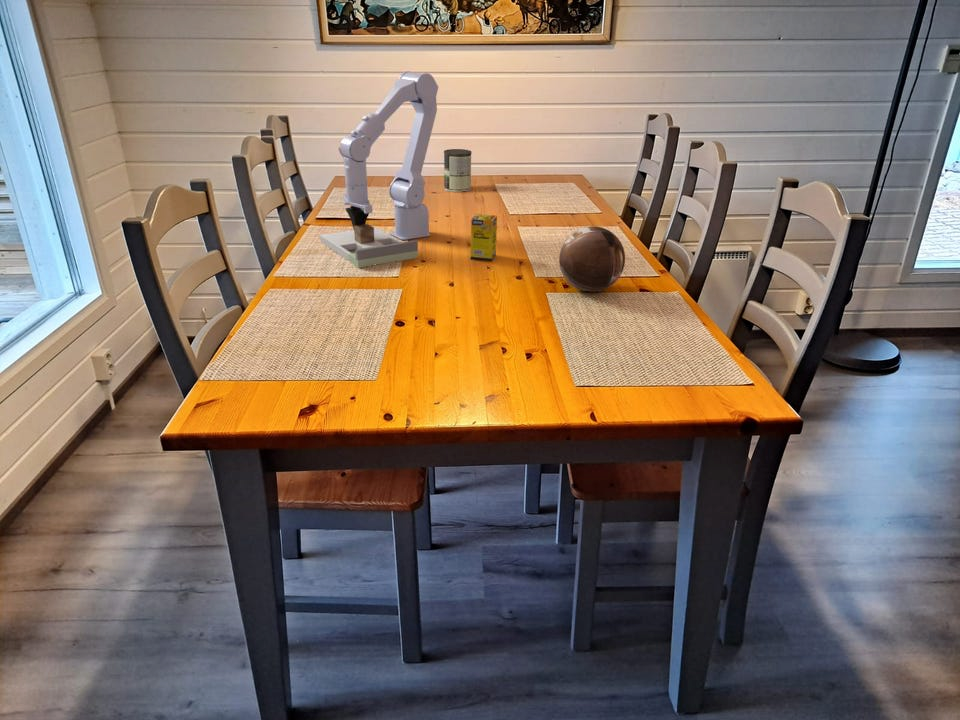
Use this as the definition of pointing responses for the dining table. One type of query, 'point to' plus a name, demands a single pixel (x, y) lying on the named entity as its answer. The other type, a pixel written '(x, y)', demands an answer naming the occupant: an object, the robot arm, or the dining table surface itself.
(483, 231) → the supplement box
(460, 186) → the coffee can
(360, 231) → the walnut block
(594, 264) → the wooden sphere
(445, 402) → the dining table surface
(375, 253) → the board
